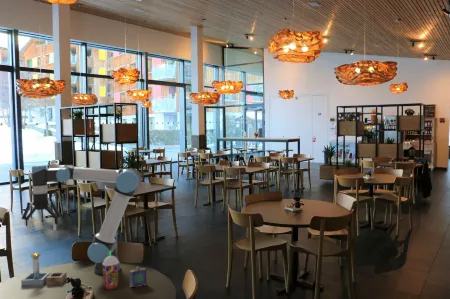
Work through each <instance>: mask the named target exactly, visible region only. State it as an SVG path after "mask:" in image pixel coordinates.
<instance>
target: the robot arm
mask: <svg viewBox="0 0 450 299" xmlns="http://www.w3.org/2000/svg"><path fill="white" fill-rule="evenodd" d="M142 178H143V177H142V174H141V172H140V171H139V170H138V169H136V168H119V169H109V168H108V169H107V168H106V169H105V168H95V167H94V168H93V167H82V166H81V167H80V166H71V165H65V166H61V167H56V168H48V167H47V165H45V164H37V165H33V166H32V167H31V180H32V181H31V186H32V200H33V201H32V202H31V201H28V202H27V203H26V208H25V210H24V212H23V214H22V216H21V220H24V221H25V226H26V227H27V232H28V233H30V232H31V231H32V220H31V217H32V216H33V215H34V213H36V211H40V210H41V211H42V210H45V211H46V212H48V214H49V215H51V217H52V226H53V227H52V229H53V231H54V232H55V231H56V230H57V225H58V223H59V221H58V220H59V218H61V217H62V214H61V213H60V211H59V209H58V207H57V206H56V204H55V201H54V200H51V201H49V193H48V190H49V189H48V183H56V182H58V183H63V182H68V181H69V180H71V181H72V180H75V181H76V180H77V181H89V182H101V183H113V184H114V183H115V185H114V186H113V192H114V195H113V197H112V200H111V202H110V205H109V206H108V207H109V208H108V210H107V212H106V214H105V217H104V220H103V222H102V224H101V228H100V230H99V232H97V233H95V235H94V237H93V240H92V242H91V244H90V245H89V247H88V249H87V257H88V258H89V260H90V261H92V262H93V263H95V264H94V266H93V267H94V268H93V269H94V270H93V272H94V273H95V274H97V275H103V264H102V263H103V261H104V259H105V258H106V257H107V256H110V251H111V256H115V257H116V258H117V260H118V261H119V266H118V272H119V271H120V270H121V269H120V268H121V263H120V260H119V257H118V235H117V230H118V228H119V226H120V223H121V221H122V218H123V216H124V214H125V211H126V209H127V206H128V204H129V201H130V199H131V198H134V195H135V194H136V191H137V189H138V187H139V186H140V185H141V183H142V180H143V179H142ZM49 205H50V206H51V208H50V206H49ZM32 206H33V208H31V207H32ZM30 209H32V210H31V211H30ZM29 211H30V212H29Z"/></svg>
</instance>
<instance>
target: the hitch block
mask: <svg viewBox="0 0 450 299" xmlns="http://www.w3.org/2000/svg"><path fill="white" fill-rule="evenodd" d="M66 278H67V271H57V272H55V271H52V272H50V275H49V276H48V277H47V278H46V283H45V285H47V286H52V285H54V286H56V285H58V286H60V285H63V284H64V282H65V281H66V280H67V279H66ZM65 279H66V280H65Z"/></svg>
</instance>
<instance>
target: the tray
mask: <svg viewBox="0 0 450 299" xmlns="http://www.w3.org/2000/svg"><path fill="white" fill-rule="evenodd" d="M50 274H51V272H40V279H33V272H30V273H28V274H27V275H26V276H25V277H24V278H22V279H21V280H20V281H21V282H20V284H21V287H22V288H29V287H32V288H33V287H43V286H44V285H46V278H47V277H48V276H49V275H50Z"/></svg>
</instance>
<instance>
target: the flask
mask: <svg viewBox="0 0 450 299" xmlns="http://www.w3.org/2000/svg"><path fill="white" fill-rule="evenodd" d="M128 274H129V277H128V278H129V288H130V287H135V286H138V285H144V284H146V285H147V269H146V268H145V267H139V265H137V266H136V267H135V269H131V270H130V271H129V273H128Z"/></svg>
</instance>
